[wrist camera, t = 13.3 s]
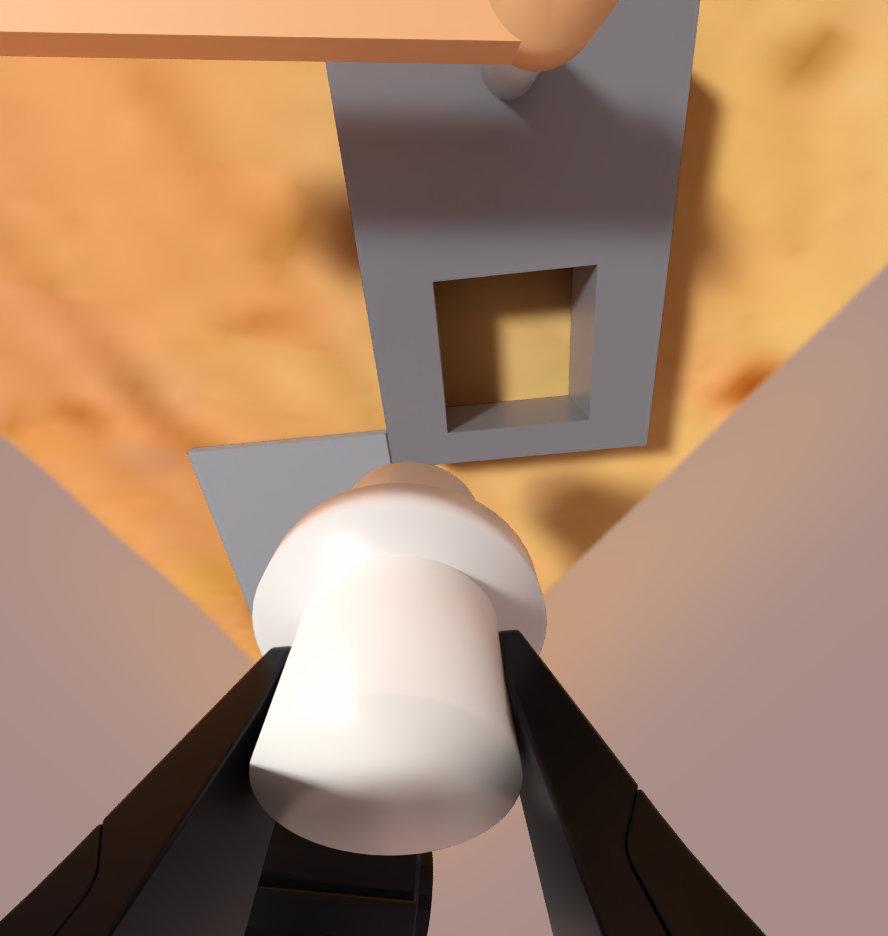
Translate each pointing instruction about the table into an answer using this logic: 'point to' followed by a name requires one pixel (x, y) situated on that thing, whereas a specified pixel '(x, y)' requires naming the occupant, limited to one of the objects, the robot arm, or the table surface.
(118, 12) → the light orange flat bar
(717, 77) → the table surface
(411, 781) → the plug
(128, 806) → the robot arm
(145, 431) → the table surface
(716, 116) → the table surface
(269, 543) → the mat
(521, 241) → the socket base
